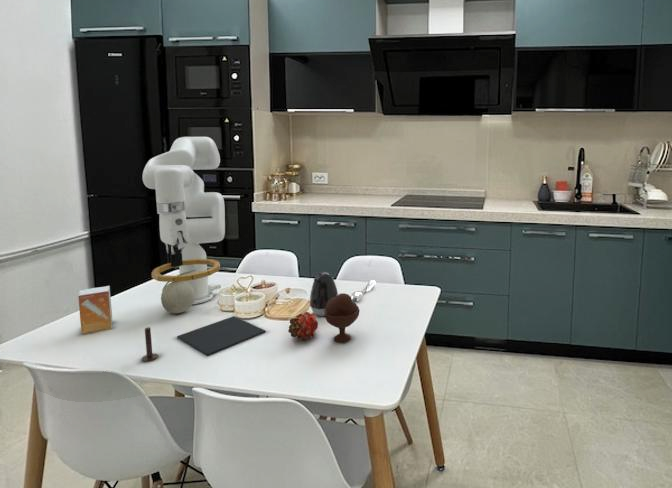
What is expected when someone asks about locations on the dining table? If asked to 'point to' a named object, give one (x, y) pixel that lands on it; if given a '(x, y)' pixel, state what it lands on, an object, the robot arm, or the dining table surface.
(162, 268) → the ring
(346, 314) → the ice cream bowl
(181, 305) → the fruit
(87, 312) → the small box
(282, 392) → the dining table surface
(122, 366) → the dining table surface
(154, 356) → the post
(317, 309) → the dark grey tall dome
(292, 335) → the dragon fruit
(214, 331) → the mat
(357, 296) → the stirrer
